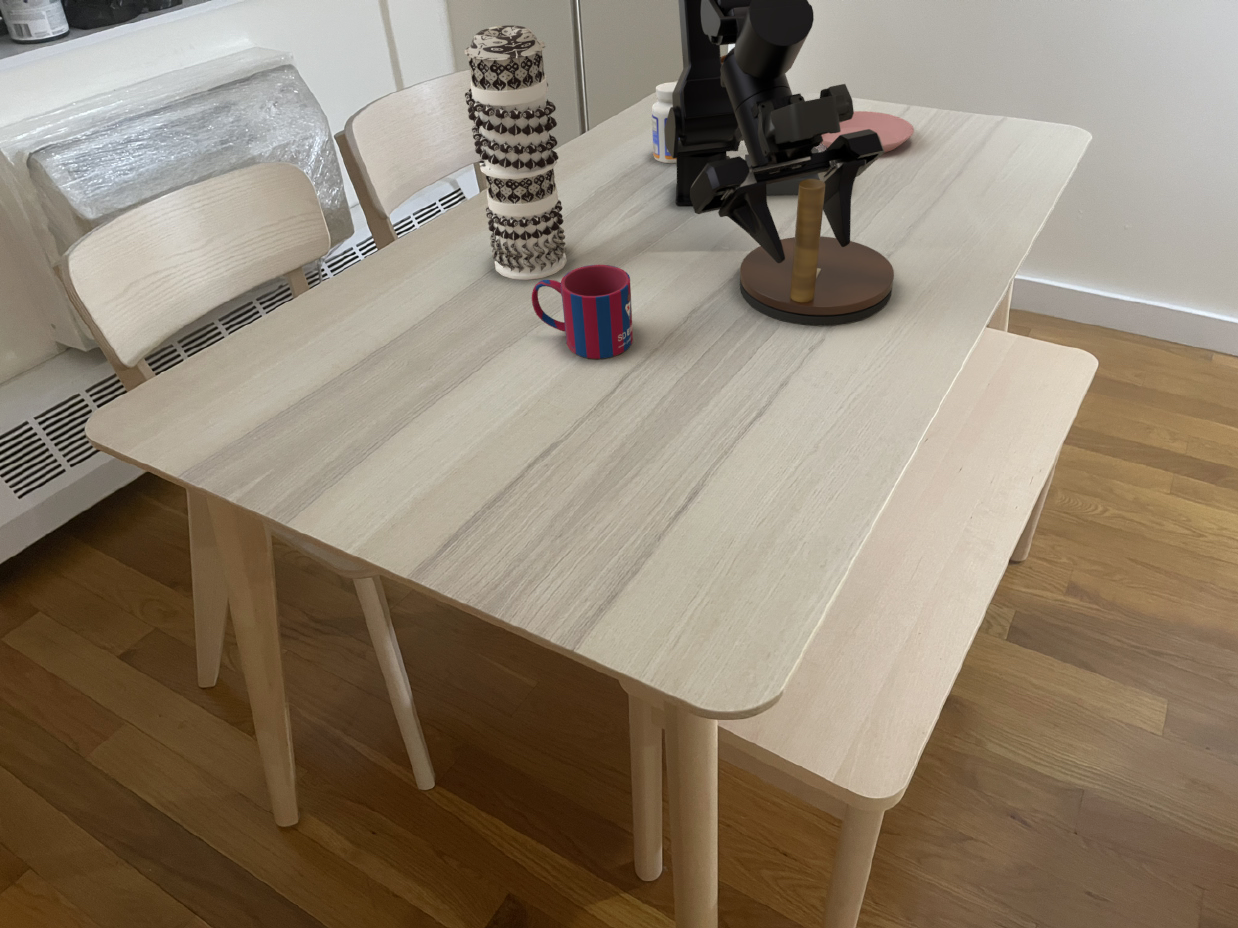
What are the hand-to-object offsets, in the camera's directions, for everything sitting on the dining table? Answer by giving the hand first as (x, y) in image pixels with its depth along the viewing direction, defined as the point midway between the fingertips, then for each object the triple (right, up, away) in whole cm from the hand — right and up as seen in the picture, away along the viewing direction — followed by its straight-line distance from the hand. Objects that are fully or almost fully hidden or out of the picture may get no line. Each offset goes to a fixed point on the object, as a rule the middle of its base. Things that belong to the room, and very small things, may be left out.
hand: (814, 253), depth 86 cm
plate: (+16, +26, +43) cm, 52 cm away
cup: (-22, -8, +5) cm, 24 cm away
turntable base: (+2, -1, +10) cm, 11 cm away
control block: (+4, +17, +33) cm, 37 cm away
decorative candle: (-29, +3, +18) cm, 35 cm away
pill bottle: (-11, +24, +42) cm, 49 cm away
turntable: (+2, 0, +9) cm, 10 cm away
